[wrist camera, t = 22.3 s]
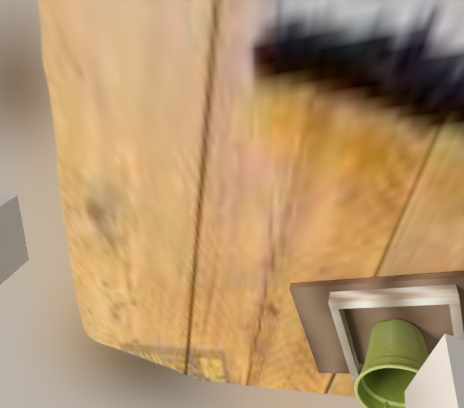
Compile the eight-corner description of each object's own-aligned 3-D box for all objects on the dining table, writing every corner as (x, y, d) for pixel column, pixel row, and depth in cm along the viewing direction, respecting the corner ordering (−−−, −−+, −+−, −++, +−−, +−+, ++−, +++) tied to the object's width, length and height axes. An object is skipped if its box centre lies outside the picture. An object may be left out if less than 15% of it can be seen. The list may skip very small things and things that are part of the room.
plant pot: (348, 346, 54) (344, 405, 47) (370, 298, 49) (369, 356, 42) (419, 370, 53) (426, 434, 46) (450, 322, 47) (463, 386, 40)
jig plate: (319, 366, 59) (317, 384, 57) (290, 283, 53) (286, 299, 50) (512, 370, 50) (520, 391, 47) (506, 267, 43) (514, 286, 41)
